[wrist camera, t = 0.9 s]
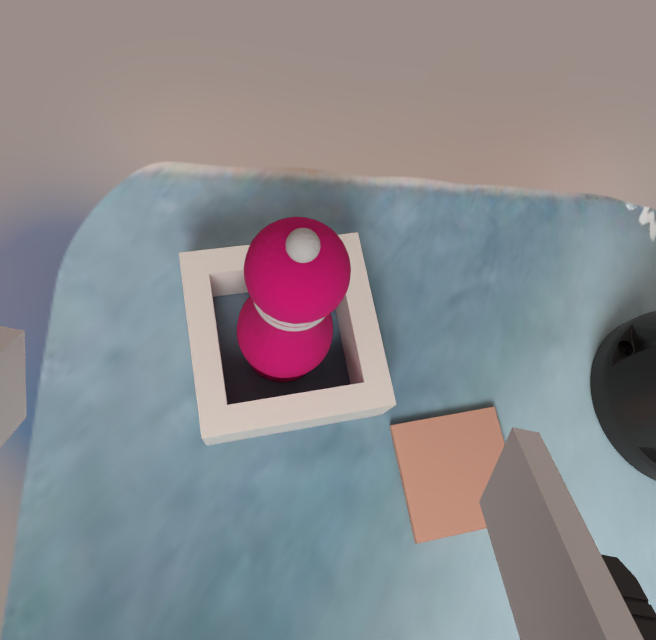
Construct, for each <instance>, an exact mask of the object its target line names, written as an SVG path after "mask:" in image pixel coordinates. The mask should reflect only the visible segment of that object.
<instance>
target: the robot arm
mask: <svg viewBox="0 0 656 640" xmlns="http://www.w3.org/2000/svg"><path fill="white" fill-rule="evenodd" d="M25 375H26V374H25V331H23V330H17V329H13V328H7V327H3V326H0V448H1V446H2V445H3V444H4V443H5V442H6V440H7V439H8V438H9V437H10V436H11V435H12V433H13V432H14V431H15V430H16V429H17V428H18V426H19V425H20V424H21V423H22V422H23V420H24V419H25V418H26V376H25ZM591 394H592V400H593V405H594V409H595V412H596V415H597V418H598V420H599V423H600V425H601V427H602V429H603V431H604V433H605V435H606V436H607V438H608V439H609V441H610V442H611V444H612V445H613V446H614V448H615V449H616V450H617V451H618V453H619V454H620V455H621V456H622V457H623V458H624V459H625V460H626V461H627V462H628V463H629V464H631V465H632V466H633V467H634V468H636V469H637V470H638V471H640V472H641V473H643V474H644V475H646V476H648V477H650V478H652V479H654V480H656V311H654V312H650V313H647V314H644V315H641V316H639V317H637V318H635V319H632V320H630V321H628V322H626V323H624V324H622V325H621V326H619V327H617V328H616V329H615V330H614V331H612V332H611V333H610V334H609V335H608V336H607V337H606V339H605V340H604V341H603V343H602V344H601V346H600V348H599V350H598V352H597V354H596V356H595V359H594V363H593V367H592V373H591ZM479 503H480V506H481V510H482V513H483V516H484V520H485V523H486V526H487V530H488V533H489V536H490V540H491V543H492V546H493V550H494V553H495V556H496V560H497V563H498V566H499V570H500V573H501V576H502V580H503V583H504V587H505V590H506V593H507V597H508V600H509V603H510V607H511V610H512V613H513V617H514V620H515V623H516V627H517V630H518V633H519V637H520V640H656V613H655V612H654V610H653V608H652V606H651V605H649V604H648V599H647V597H646V595H645V593H644V592H643V590H642V588H641V586H640V584H639V583H638V581H637V579H636V578H635V577H634V575H633V574H632V573H631V572H630V571H629V570H628V569H627V568H626V567H625V566H624V565H623V563H622V562H621V561H620V560H619V559H618V558H616V557H611V556H606V555H601V554H600V552H599V550H598V548H597V546H596V544H595V542H594V540H593V538H592V536H591V534H590V532H589V530H588V528H587V526H586V524H585V522H584V521H583V519H582V517H581V515H580V513H579V511H578V509H577V507H576V505H575V503H574V501H573V499H572V497H571V495H570V493H569V491H568V489H567V487H566V485H565V483H564V481H563V479H562V477H561V475H560V473H559V471H558V469H557V467H556V465H555V463H554V461H553V459H552V457H551V455H550V453H549V451H548V449H547V447H546V445H545V443H544V441H543V440H542V438H541V436H540V434H539V433H538V432H533V431H528V430H523V429H518V428H513V427H512V430H511V432H510V434H509V436H508V439H507V441H506V443H505V445H504V447H503V450H502V452H501V454H500V456H499V459H498V461H497V463H496V465H495V468H494V470H493V472H492V474H491V476H490V479H489V481H488V483H487V485H486V488H485V490H484V492H483V494H482V497H481V499H480V501H479Z"/></svg>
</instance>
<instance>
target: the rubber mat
mask: <svg viewBox="0 0 656 640" xmlns="http://www.w3.org/2000/svg"><path fill="white" fill-rule="evenodd" d="M390 430H391V434H392V439H393V444H394V448H395V453H396V457H397V462H398V466H399V471H400V476H401V480H402V485H403V489H404V494H405V499H406V503H407V508H408V512H409V517H410V522H411V526H412V531H413V535H414V540H415V543H421V542H426V541H430V540H435V539H439V538H444V537H448V536H453V535H457V534H462V533H466V532H471V531H475V530H480V529H484V528H487V526H486V523H485V520H484V516H483V513H482V510H481V506H480V503H479V501H480V499H481V497H482V494H483V492H484V490H485V488H486V485H487V483H488V481H489V479H490V476H491V474H492V472H493V470H494V468H495V465H496V463H497V461H498V459H499V456H500V454H501V452H502V450H503V447H504V445H505V443H504V440H503V436H502V432H501V429H500V425H499V421H498V418H497V414H496V410H495V407H489V408H484V409H478V410H473V411H467V412H462V413H456V414H451V415H445V416H439V417H434V418H428V419H423V420H417V421H412V422H406V423H401V424H395V425H391V426H390Z"/></svg>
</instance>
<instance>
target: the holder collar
mask: <svg viewBox="0 0 656 640" xmlns="http://www.w3.org/2000/svg"><path fill="white" fill-rule="evenodd" d="M338 236H339V238H340V239H341V240H342V241H343V243H344V245H345V247H346V250H347V252H348V255H349V258H350V265H351V276H350V283H349V287H348V290H347V293H346V294H345V296H344V298H343V300H342V301H341V303H340V304H339V305H338V307H337V308H336V309H335V311H336V316H337V321H338V326H339V330H340V335H341V340H342V345H343V350H344V355H345V360H346V365H347V370H348V375H349V380H350V385H345V386H339V387H333V388H327V389H321V390H315V391H309V392H302V393H296V394H290V395H284V396H278V397H272V398H266V399H260V400H254V401H248V402H242V403H236V404H230V405H228V402H227V394H226V387H225V380H224V373H223V366H222V358H221V351H220V344H219V337H218V330H217V322H216V315H215V308H214V301H213V297H216V296H224V295H231V294H239V293H247V292H248V290H247V287H246V283H245V280H244V263H245V258H246V254H247V251H248V248H249V246H250V245H242V246H234V247H225V248H216V249H207V250H199V251H190V252H181V253H179V258H180V266H181V275H182V283H183V291H184V299H185V307H186V315H187V323H188V331H189V340H190V348H191V356H192V364H193V372H194V380H195V388H196V396H197V404H198V413H199V421H200V429H201V437H202V440H203V441H204V442H205V444H206V445H213V444H219V443H224V442H230V441H236V440H241V439H247V438H253V437H258V436H264V435H270V434H275V433H281V432H287V431H292V430H298V429H304V428H309V427H315V426H321V425H326V424H332V423H338V422H343V421H349V420H355V419H361V418H366V417H372V416H378V415H382V414H383V413H385V412H386V411H388V410H389V409H391V408H392V407H394V406H395V405H396V401H395V397H394V392H393V388H392V383H391V379H390V374H389V370H388V365H387V361H386V356H385V352H384V347H383V343H382V338H381V334H380V330H379V325H378V321H377V316H376V312H375V307H374V303H373V298H372V294H371V289H370V285H369V280H368V276H367V271H366V267H365V262H364V258H363V254H362V249H361V245H360V240H359V236H358V232H356V233H348V234H339V235H338Z"/></svg>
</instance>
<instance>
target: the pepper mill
mask: <svg viewBox="0 0 656 640" xmlns="http://www.w3.org/2000/svg"><path fill="white" fill-rule="evenodd" d="M350 276H351V265H350V258H349V255H348V252H347V250H346V247H345V245H344V243H343V241H342V240H341V239H340V238H339V236H338V235H337V234H336V233H335V232H334V231H333V230H332V229H331V228H329V227H328V226H326V225H325V224H323V223H321V222H319V221H317V220H314V219H309V218H305V217H290V218H285V219H281V220H278V221H276V222H273V223H271V224H269V225H268V226H266V227H265V228H264V229H262V230H261V231H260V232H259V233H258V235H257V236H256V237H255V238H254V239H253V241H252V243H251V244H250V246H249V248H248V251H247V254H246V258H245V263H244V280H245V283H246V287H247V290H248V293H249V295H250V297H249V298H248V299H247V301H246V302H245V303H244V305H243V307H242V309H241V311H240V314H239V318H238V323H237V339H238V344H239V346H240V349H241V351H242V353H243V355H244V356H245V358H246V359H247V361H248V363H249V364H250V366H251V367H252V368H253V369H254V371H255V372H256V373H258V374H259V375H260V376H262V377H264V378H266V379H268V380H271V381H275V382H289V381H293V380H296V379H299V378H301V377H303V376H304V375H305V374H307V373H308V372H309V371H311V370H313V369H314V368H315V367H316V366H318V365H319V364H320V363H321V362H322V360H323V359H324V358H325V356H326V355H327V353H328V350H329V348H330V345H331V342H332V336H333V323H332V317H331V314H330V313H331V312H332V311H333V310H334V309H336V308H337V307H338V305H339V304H340V303H341V301H342V300H343V298H344V296H345V294H346V293H347V290H348V287H349V283H350Z"/></svg>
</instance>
